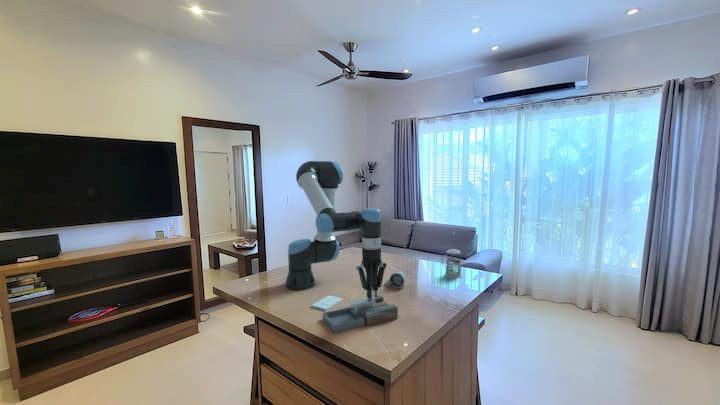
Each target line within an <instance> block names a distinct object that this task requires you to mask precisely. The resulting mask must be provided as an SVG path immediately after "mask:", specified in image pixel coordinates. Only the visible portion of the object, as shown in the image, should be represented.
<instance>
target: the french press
mask: <svg viewBox="0 0 720 405" xmlns="http://www.w3.org/2000/svg"><path fill="white" fill-rule="evenodd" d="M451 234H452V235H453V236H455V235H456V232H455V231H454V232H452V233H451ZM446 253H447V254H446ZM446 253H445V254H443V255H442V257H441V260H440V261H441V265H444V263H443V261H444V257H447V258H446V259H447V260H446V264H445V265H444V268H445V273H444V276H445V277H447V278H451V279H462V278H463V275H462V273H461V272H462V271H461V270H462V269H461V268H462V267H461V266H462V263H461V261H460V260H461V259H460V257H459V258H458V257H455V255H460V254H461V253H462V251H460V250H458V249H456V248H450V249H447V250H446ZM448 254H450V255H453V256H449V257H448Z"/></svg>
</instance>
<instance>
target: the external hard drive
mask: <svg viewBox="0 0 720 405" xmlns="http://www.w3.org/2000/svg"><path fill="white" fill-rule="evenodd" d="M342 302H344V298H342V297H338V296H335V295H329V294H328V295H327V296H325V297H323V298H322V299H320V300H318V301H315V303H314V302H313V304H311V305H310V307H311V308H314V309H317V310H321V311H324V312H328V311H330V309H332V308H333V307H335V306H337V305H338V304H340V303H342Z"/></svg>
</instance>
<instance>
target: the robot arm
mask: <svg viewBox="0 0 720 405" xmlns="http://www.w3.org/2000/svg"><path fill="white" fill-rule="evenodd" d="M295 174H296V175H295V176H296V177H295V178H296V183H297V185H298V186H299V188H300V189H302V190H303V191H304V193H305V195H306V198H307V200H309V203H310V205H311V207H312V208H313V210H314V212H315V214H316V217H315V226H316V235H315V236H313V241H311V239H309V238H305V239H303V238H301V239H296V240H294V241H292V242H290V243H289V244H288V248H287V254H288V259H287V260H288V273H287V276H286V280H285V287H286V288H287V289H288V290H293V291H299V290H300V291H302V290H307V289H310V288H311V289H312V287H313V288H314V287H315V285H316V279H315V276H314V273H313V270H312V264H319V263H326V262H327V263H329V262H330V261H335V260H336V259H337V258H338V257H339V255H340V254H339V253H340V243H339V241H338V240H337V239H336V236H335V235H334V233H336V232H337V233H338V232H347V231H354V230H355V231H357V230H358V231H361V247H362V248H361V251H362V252H361V255H362V256H361V258H362V260H361V264H359V265H356V268H355V269H356V270H357V271H358V274H359V280H360V283H361V288H362V289H364V290H365V291H366V297H368V298H369V299H372V300H373V307H374V306H375V297H377V296H378V290H379V288H381V287H382V285H383V279H384V274H385V269H386V267H387V263H386V262H383V261H382V258H381V257H382V248H381V247H382V216H381V214H382V213H381V212H382V211H381V210H380V209H379V208H374V207H373V208H372V207H371V208H370V207H369V208H363V209H362V210H361V211H359V210H352V211H347V212H336V210H335V201H336V200H335V199H336V198H335V197H336V191H337V190H338V189H339V185H341V184H342V182H343V180H344V172H343V169H342V166H341V165H340V163H338V162H337V161H329V160H328V161H327V160H323V161H322V160H321V161H320V160H317V161H316V160H309V161H308V160H307V161H306V162H303V163H302V164H301V165H300V166H299V167H298V168H297V170H296V173H295ZM364 270H365V271H364Z"/></svg>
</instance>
